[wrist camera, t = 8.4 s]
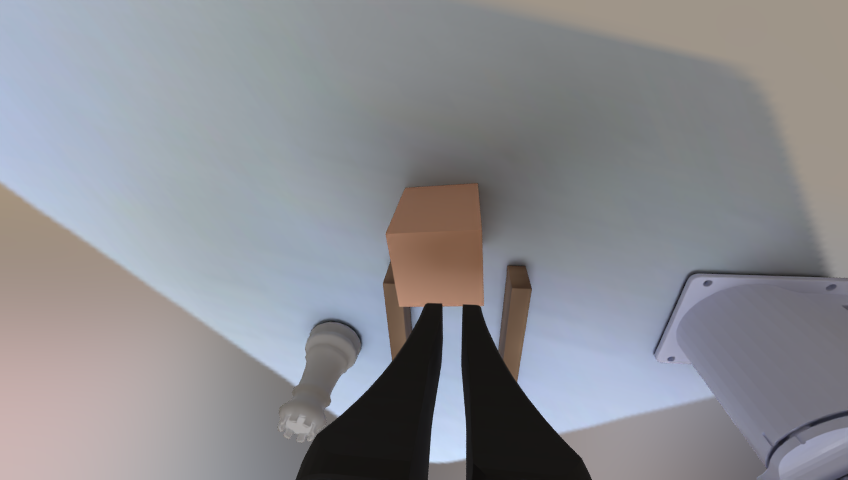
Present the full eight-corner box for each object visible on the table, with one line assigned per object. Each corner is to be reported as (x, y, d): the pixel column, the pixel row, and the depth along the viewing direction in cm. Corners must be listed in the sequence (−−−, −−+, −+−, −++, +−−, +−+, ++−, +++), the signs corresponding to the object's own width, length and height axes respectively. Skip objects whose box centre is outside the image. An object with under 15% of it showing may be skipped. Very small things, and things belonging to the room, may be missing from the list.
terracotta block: (477, 182, 20) (481, 229, 15) (479, 246, 23) (483, 305, 17) (405, 187, 21) (385, 233, 16) (413, 248, 23) (399, 306, 18)
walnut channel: (525, 266, 23) (531, 289, 21) (507, 395, 30) (510, 423, 28) (390, 261, 24) (382, 283, 22) (403, 388, 31) (398, 414, 29)
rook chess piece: (312, 313, 27) (260, 403, 20) (365, 325, 27) (332, 419, 20) (310, 350, 30) (264, 442, 23) (360, 361, 30) (328, 456, 23)
